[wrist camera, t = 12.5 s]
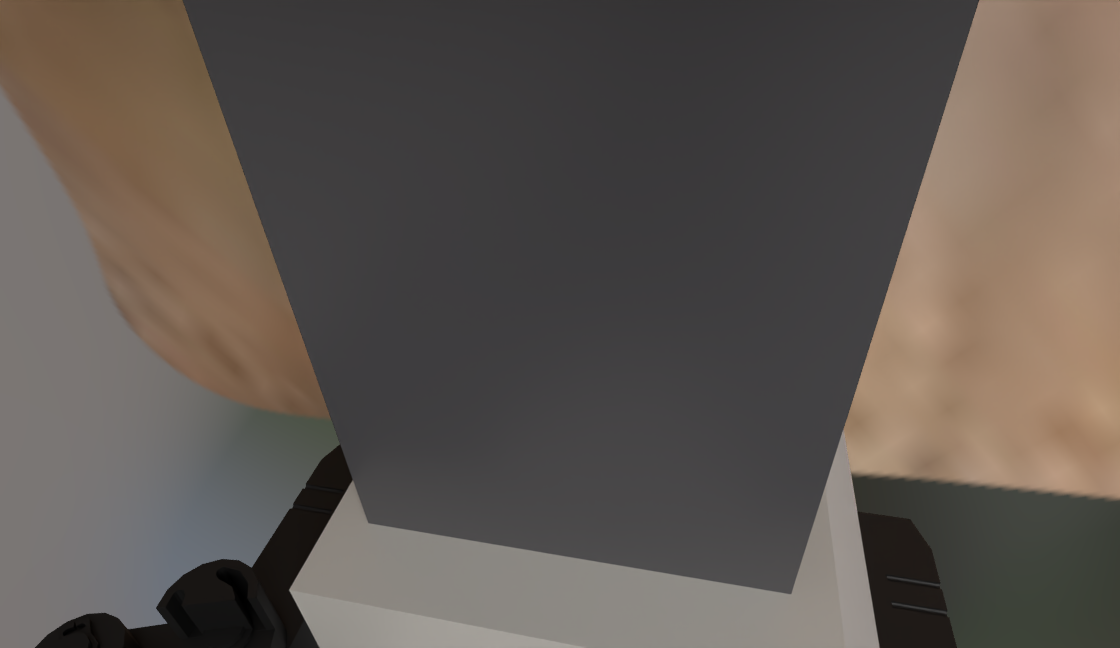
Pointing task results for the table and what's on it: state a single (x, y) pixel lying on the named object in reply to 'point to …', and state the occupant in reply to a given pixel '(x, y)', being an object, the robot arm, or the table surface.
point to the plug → (582, 296)
